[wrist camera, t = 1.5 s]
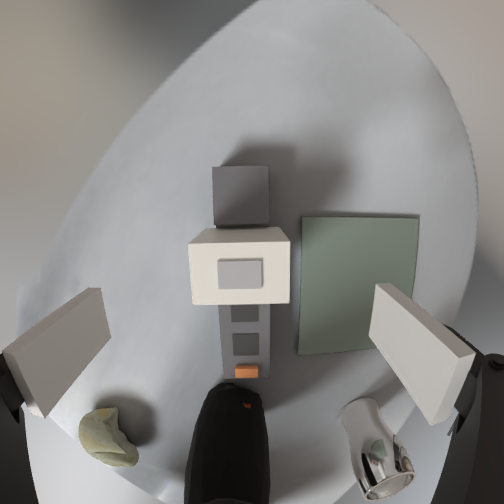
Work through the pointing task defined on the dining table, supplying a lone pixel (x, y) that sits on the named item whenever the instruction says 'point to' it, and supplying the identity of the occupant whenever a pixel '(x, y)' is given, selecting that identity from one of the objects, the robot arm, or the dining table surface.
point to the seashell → (106, 438)
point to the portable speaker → (229, 450)
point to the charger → (240, 266)
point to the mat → (350, 277)
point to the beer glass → (375, 451)
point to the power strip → (243, 315)
